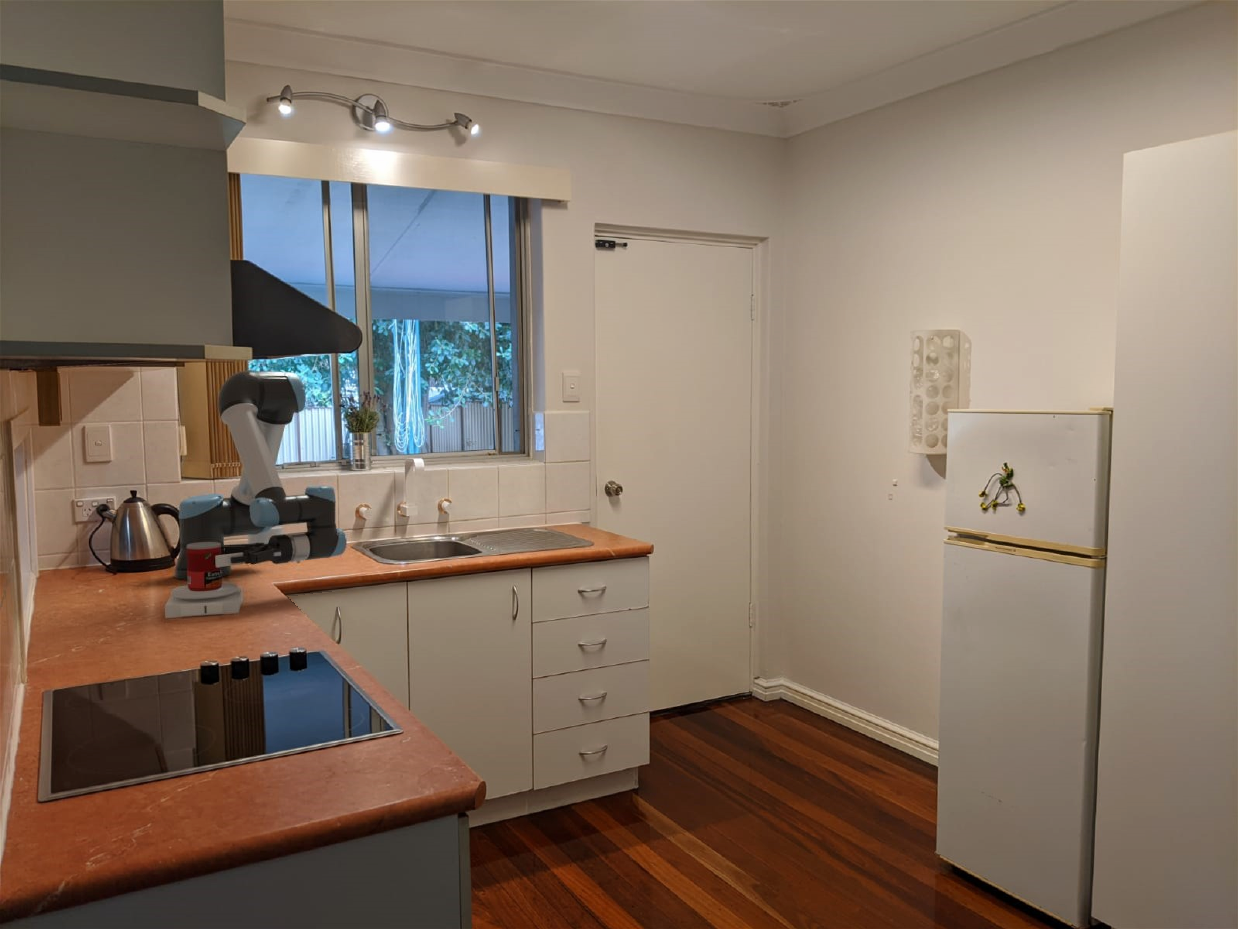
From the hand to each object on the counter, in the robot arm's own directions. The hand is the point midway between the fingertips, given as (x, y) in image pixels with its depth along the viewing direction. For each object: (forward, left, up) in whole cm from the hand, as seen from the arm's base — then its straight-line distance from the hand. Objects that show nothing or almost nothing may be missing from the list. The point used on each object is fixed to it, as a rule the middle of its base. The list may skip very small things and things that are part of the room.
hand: (204, 558), depth 227 cm
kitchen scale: (0, 0, -12) cm, 13 cm away
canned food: (0, 0, -8) cm, 8 cm away
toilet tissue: (-73, +11, -13) cm, 75 cm away
